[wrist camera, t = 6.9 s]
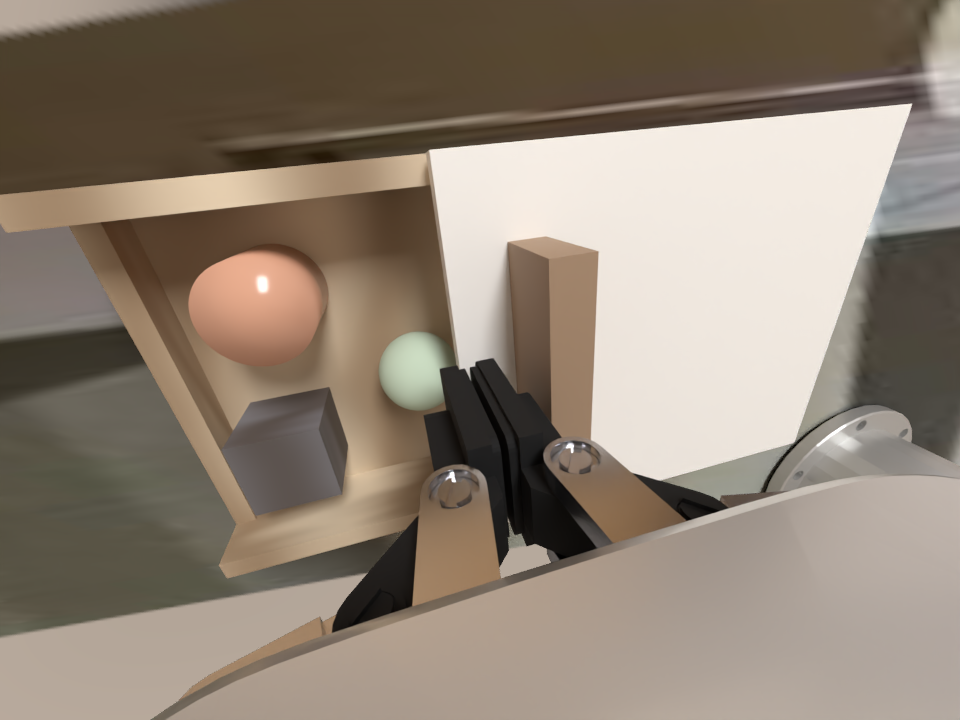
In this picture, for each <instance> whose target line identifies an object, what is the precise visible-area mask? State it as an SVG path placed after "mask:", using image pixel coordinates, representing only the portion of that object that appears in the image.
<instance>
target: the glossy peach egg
mask: <svg viewBox="0 0 960 720" xmlns="http://www.w3.org/2000/svg"><path fill="white" fill-rule="evenodd" d="M328 298H329V291H328V285H327V282H326V279H325V276H324V274H323V272H322V271H321V269H320V268H319V267H318V265H317V264H316V263H315V262H314V261H313V260H312V259H311V258H310V257H308V256H307V255H306V254H304V253H302V252H301V251H299V250H297V249H295V248H292V247H289V246H286V245H281V244H262V245H257V246H254V247H252V248H249V249H247V250H245V251H243V252H241V253H238V254H236V255H234V256H232V257H229V258H227V259H225V260H223V261H221V262H218V263H216V264H214V265H212V266H210V267H209V268H207V269H206V270H205V271H203V272H202V273H201V274H200V275H199V276H198V278H197V279H196V281H195V282H194V284H193V286H192V288H191V291H190V295H189V302H188V305H189V313H190V318H191V321H192V323H193V326H194V327H195V329H196V331H197V333H198V334H199V335H200V337H201V338H202V339H203V340H204V342H205V343H206V344H207V345H208V346H210V347H211V348H212V349H213V350H214V351H216V352H217V353H219V354H220V355H222V356H224V357H226V358H228V359H230V360H232V361H235V362H238V363H241V364H245V365H250V366H274V365H279V364H282V363H285V362H288V361H290V360H292V359H294V358H295V357H297V356H298V355H300V354H301V353H302V352H303V351H304V350H305V349H306V348H307V346H308V345H309V343H310V342H311V340H312V338H313V336H314V334H315V331H316V329H317V327H318V325H319V323H320V321H321V318H322V316H323V314H324V312H325V310H326V307H327V304H328Z"/></svg>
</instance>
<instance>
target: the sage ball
mask: <svg viewBox="0 0 960 720" xmlns="http://www.w3.org/2000/svg"><path fill="white" fill-rule="evenodd" d="M451 366H456V359H455V353H454V351H453V350H452V348H451V347H450V345H449V344H448V343H447V342H446V341H444V340H443V339H442V338H440V337H438V336H437V335H434V334H432V333H428V332H419V331H417V332H410V333H406V334H403V335H401V336H399V337H398V338H396V339H395V340H393V341H392V342H391V343H390V344H389V345H388V346H387V348H386V349H385V351H384V352H383V354H382V356H381V359H380V363H379V379H380V383H381V386H382V388H383V390H384V392H385V393H386V395H387V396H388V397H389V398H390V399H391V400H392V401H393V402H394V403H396V404H397V405H399V406H401V407H403V408H406V409H409V410H416V411H421V410H428V409H431V408H434V407H436V406H438V405H440V404H441V403H443V402H444V401H445V400H444V394H443V388H442V382H441V376H440V369H441V368H446V367H451Z"/></svg>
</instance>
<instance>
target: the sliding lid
mask: <svg viewBox="0 0 960 720" xmlns="http://www.w3.org/2000/svg"><path fill="white" fill-rule="evenodd" d="M911 106H912V104H905V105H894V106H884V107H873V108H863V109H852V110H842V111H831V112H821V113H811V114H800V115H790V116H779V117H769V118H758V119H748V120H737V121H727V122H717V123H706V124H696V125H685V126H675V127H664V128H654V129H643V130H633V131H623V132H612V133H602V134H591V135H581V136H570V137H560V138H549V139H539V140H529V141H518V142H508V143H497V144H487V145H476V146H466V147H455V148H445V149H435V150H429V151H427V152H426V158H427V165H428V172H429V179H430V185H431V192H432V199H433V206H434V213H435V220H436V227H437V234H438V241H439V248H440V255H441V262H442V269H443V276H444V282H445V289H446V296H447V303H448V310H449V317H450V324H451V331H452V338H453V345H454V352H455V359H456V365H457V366H458V368H459V369H464V368H465V369H466V372H467V374H468V376H469V378H470V380H471V377H470V367H474V366H475V362H476V361H480V360H485V359H490V358H493V359H494V360H495V361H496V363H497V364H498V366H499V367H500V369H501V370H502V372H503V373H504V375H505V376H506V378H507V379H508V381H509V382H510V384H511V385H512V387H513V388H514V390H515V391H516V393H517V394H521V393H525V392H528V393H529V394H530V395H531V396H532V397H533V399H534V400H535V401H536V403H537V404H538V405H539V407H540V408H541V409H542V411H543V412H544V414H545V415H546V416H547V418H548V419H549V420H550V422H551V423H552V425H553V426H554V427H555V429H556V430H557V431H558V433H559V434H560V435H561V437H562V438H563V437H572V436H576V437H582V438H586V439H589V440H592V441H594V442H596V443H597V444H599V445H600V446H602V447H603V448H604V449H605V450H606V451H607V452H608V453H610V454H611V455H612V456H613V457H614V458H615V459H616V460H618V461H619V462H620V463H621V464H622V465H623V466H624V467H626V468H627V469H628V470H629V471H630V472H631V473H635V474H638V475H642V476H645V477H649V478H652V479H656V480H659V481H660V480H663V479H667V478H670V477H674V476H678V475H681V474H685V473H688V472H692V471H695V470H699V469H702V468H706V467H709V466H713V465H716V464H720V463H724V462H727V461H731V460H734V459H738V458H741V457H745V456H748V455H752V454H755V453H759V452H762V451H766V450H769V449H773V448H777V447H780V446H784V445H787V444H791V443H794V441H795V439H796V436H797V433H798V430H799V427H800V424H801V421H802V419H803V416H804V413H805V410H806V407H807V404H808V401H809V399H810V396H811V393H812V390H813V387H814V384H815V381H816V378H817V376H818V373H819V370H820V367H821V364H822V361H823V358H824V356H825V353H826V350H827V347H828V344H829V341H830V338H831V335H832V333H833V330H834V327H835V324H836V321H837V318H838V315H839V313H840V310H841V307H842V304H843V301H844V298H845V295H846V293H847V290H848V287H849V284H850V281H851V278H852V275H853V272H854V270H855V267H856V264H857V261H858V258H859V255H860V252H861V250H862V247H863V244H864V241H865V238H866V235H867V232H868V229H869V227H870V224H871V221H872V218H873V215H874V212H875V209H876V207H877V204H878V201H879V198H880V195H881V192H882V189H883V186H884V184H885V181H886V178H887V175H888V172H889V169H890V166H891V164H892V161H893V158H894V155H895V152H896V149H897V146H898V144H899V141H900V138H901V135H902V132H903V129H904V126H905V123H906V121H907V118H908V115H909V112H910V109H911ZM508 523H510V522H509V519H508Z"/></svg>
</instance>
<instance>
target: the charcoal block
mask: <svg viewBox="0 0 960 720" xmlns="http://www.w3.org/2000/svg"><path fill="white" fill-rule="evenodd" d="M221 451H222V452H223V454H224V456H225V458H226V460H227V462H228V464H229V466H230V468H231V470H232V472H233V474H234V475H235V477H236V479H237V481H238V483H239V485H240V487H241V489H242V491H243V493H244V495H245V496H246V498H247V500H248V502H249V504H250V506H251V508H252V510H253V512H254V514H255V516H257V515H261V514H266V513H270V512H274V511H278V510H282V509H286V508H290V507H294V506H298V505H302V504H306V503H310V502H314V501H318V500H322V499H326V498H330V497H334V496H338V495H342V492H343V483H344V475H345V467H346V459H347V451H348V443H347V440H346V436H345V433H344V430H343V427H342V424H341V421H340V418H339V415H338V412H337V409H336V406H335V403H334V400H333V397H332V393H331V390H330V387H326V388H321V389H316V390H311V391H306V392H301V393H296V394H291V395H286V396H281V397H276V398H271V399H266V400H261V401H256V402H251V403H250V404H249V406H248V407H247V409H246V410H245V412H244V414H243V415H242V417H241V419H240V420H239V422H238V424H237V425H236V427H235V429H234V430H233V432H232V433H231V435H230V437H229V438H228V440H227V442H226V443H225V445H224V447H223V448H222V450H221Z"/></svg>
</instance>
